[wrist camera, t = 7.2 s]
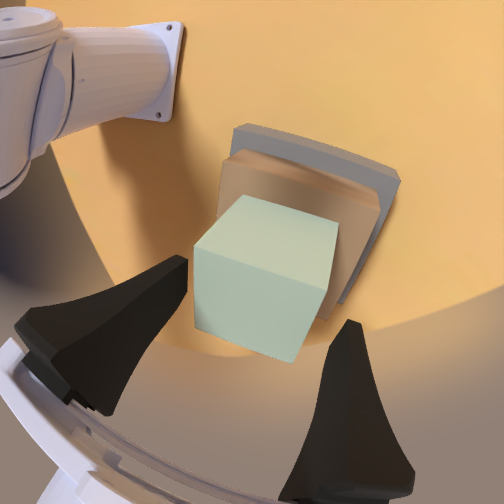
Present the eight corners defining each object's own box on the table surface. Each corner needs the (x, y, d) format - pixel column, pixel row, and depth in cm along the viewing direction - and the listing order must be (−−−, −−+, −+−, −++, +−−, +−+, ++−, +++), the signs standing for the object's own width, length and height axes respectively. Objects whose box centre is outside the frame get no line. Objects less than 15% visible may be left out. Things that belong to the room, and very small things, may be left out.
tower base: (232, 239, 23) (216, 259, 21) (251, 122, 17) (234, 128, 15) (345, 279, 22) (341, 304, 19) (394, 166, 16) (400, 181, 13)
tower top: (228, 253, 20) (210, 278, 18) (244, 148, 16) (222, 161, 13) (332, 290, 19) (326, 320, 17) (376, 189, 14) (380, 211, 12)
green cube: (233, 268, 17) (194, 327, 13) (242, 194, 14) (193, 245, 10) (312, 295, 16) (292, 363, 12) (338, 223, 13) (327, 290, 9)
